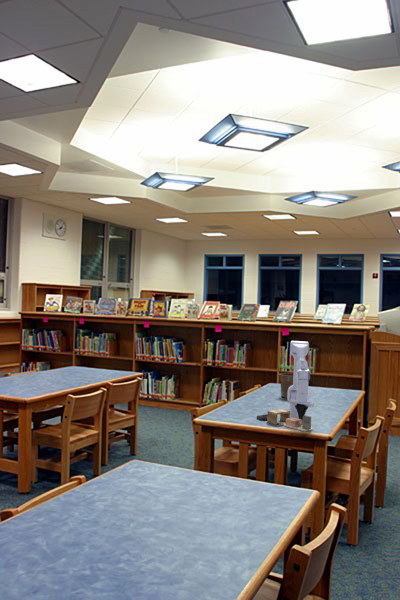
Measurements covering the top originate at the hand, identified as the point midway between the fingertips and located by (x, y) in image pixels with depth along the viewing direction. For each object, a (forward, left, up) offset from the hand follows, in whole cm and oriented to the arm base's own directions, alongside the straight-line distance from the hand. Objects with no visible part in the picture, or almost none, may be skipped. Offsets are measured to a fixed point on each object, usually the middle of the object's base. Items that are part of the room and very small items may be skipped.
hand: (301, 419), depth 268 cm
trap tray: (0, -25, -5) cm, 25 cm away
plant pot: (-70, -68, -5) cm, 98 cm away
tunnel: (0, -15, -5) cm, 16 cm away
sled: (0, -3, -5) cm, 6 cm away
